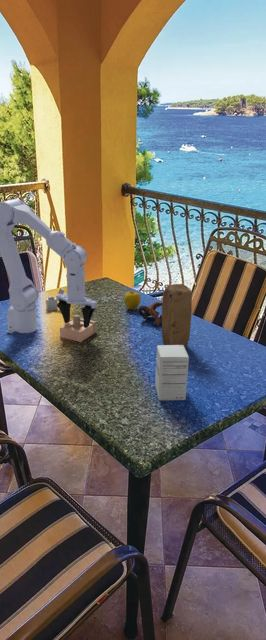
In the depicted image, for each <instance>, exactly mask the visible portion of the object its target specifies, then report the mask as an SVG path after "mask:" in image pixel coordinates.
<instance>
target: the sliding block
mask: <svg viewBox="0 0 266 640" xmlns="http://www.w3.org/2000/svg"><path fill="white" fill-rule="evenodd" d="M80 327H81V328H79V329H77V328H73V319H72V320H70V322H68V323H64V324H63V325H62V326H60V327H59V338H61V339H66V340H69V341H70V340H71V341H76V342H79V343H82V342H83V341H85V340H86V339H88V338H89V337H91V336H93V335H94V334H95V333H94V324H91V323H90V324H89V326H88V327H87V328H84V322H82V321H80Z"/></svg>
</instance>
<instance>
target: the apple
mask: <svg viewBox="0 0 266 640" xmlns="http://www.w3.org/2000/svg"><path fill="white" fill-rule="evenodd" d="M123 299H124V305H125V306H126V308H127V309H128V310H132V311H133V310H134V311H135V310H137V309H138V308H139V307H140V303H141V295H140V293H139V292H136V291H131V290H130V289H129V290H128V291H127V292H126V293H125V295H124V298H123Z"/></svg>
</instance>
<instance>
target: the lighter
mask: <svg viewBox="0 0 266 640" xmlns="http://www.w3.org/2000/svg"><path fill="white" fill-rule="evenodd" d="M64 293H65V289H64V288H60V289H59V291H58V293H57V295H58V294H64ZM57 304H58V301H56V297H55V295H51V296H48V298H46V299H45V305H46V306H45V309H46V311H54V310H55V311H56V309H57V310H58V309H59V308H58V306H57Z"/></svg>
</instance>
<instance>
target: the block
mask: <svg viewBox="0 0 266 640" xmlns="http://www.w3.org/2000/svg"><path fill="white" fill-rule="evenodd" d="M192 297H193V296H192V290H191V288H189V287H188V286H187V285H185V284H182V283H173V284H168V285H167V286H166V287H165V289H164V290H163V293H162V299H161V300H162V301H161V303H162V306H161V315H162V323H161V325H162V326H161V339H162V342H163V345H184V347H185V348H186V347H187V346H188V344H189V341H190V337H191V324H192V311H193V308H192V306H193V305H192V303H193V300H192V299H193V298H192Z"/></svg>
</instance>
